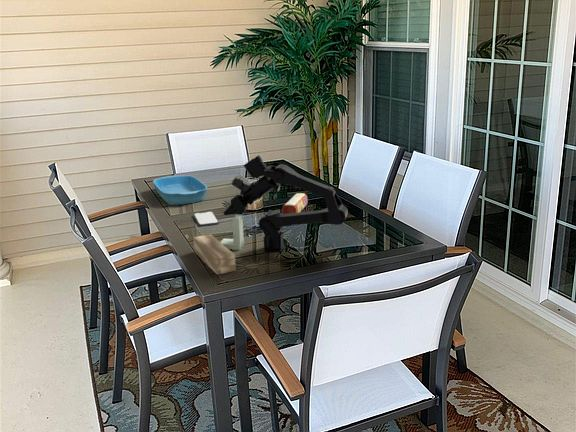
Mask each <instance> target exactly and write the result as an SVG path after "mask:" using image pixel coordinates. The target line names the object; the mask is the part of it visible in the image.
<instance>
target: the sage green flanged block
mask: <svg viewBox="0 0 576 432" xmlns="http://www.w3.org/2000/svg"><path fill="white" fill-rule="evenodd" d="M243 217H244V216H243V214H234V216H233V217H232V219H231V220H232V238H222V240H221V241H219V242H220V243H222V244H223V245H224V246H225V247H226V248H228V249H229V250H230V249H232V250H235V251H239V250H240V251H241V249H242V248H243V246H244V245H245V239H244V223H243V222H244V219H243Z"/></svg>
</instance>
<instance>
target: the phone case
mask: <svg viewBox="0 0 576 432" xmlns="http://www.w3.org/2000/svg"><path fill="white" fill-rule="evenodd" d="M193 219H195V222H196V223H197V225H198V227H201V228H202V227H210V226H211V227H212V226H217V225H220V222H219V220H218V218H217V216H216V215H215V214H214V212H213V211H205V212H196V213H194V214H193Z"/></svg>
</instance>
